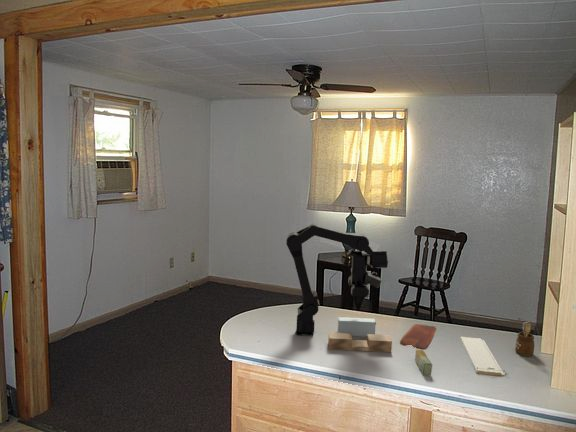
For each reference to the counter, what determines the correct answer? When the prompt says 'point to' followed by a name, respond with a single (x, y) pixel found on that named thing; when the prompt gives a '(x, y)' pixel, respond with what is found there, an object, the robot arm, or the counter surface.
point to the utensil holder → (525, 342)
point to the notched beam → (360, 342)
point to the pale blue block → (356, 326)
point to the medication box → (423, 362)
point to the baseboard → (481, 356)
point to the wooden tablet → (419, 336)
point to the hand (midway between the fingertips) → (357, 306)
